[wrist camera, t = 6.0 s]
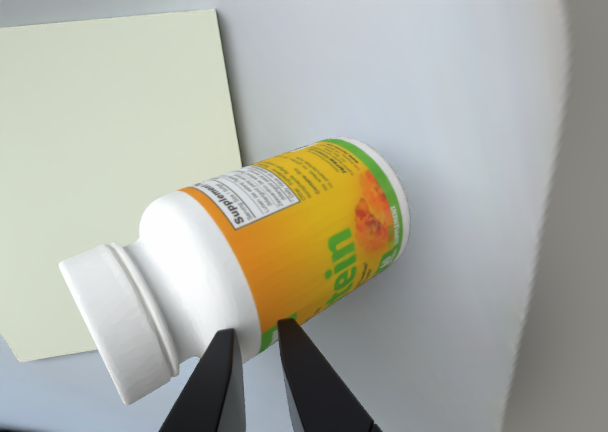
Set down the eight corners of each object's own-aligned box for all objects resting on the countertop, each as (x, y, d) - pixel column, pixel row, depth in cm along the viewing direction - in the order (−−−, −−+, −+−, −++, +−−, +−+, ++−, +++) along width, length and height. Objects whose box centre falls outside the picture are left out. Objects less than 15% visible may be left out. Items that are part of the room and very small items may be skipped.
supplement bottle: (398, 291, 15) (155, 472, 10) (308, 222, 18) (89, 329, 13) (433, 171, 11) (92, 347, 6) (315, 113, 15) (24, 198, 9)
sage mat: (215, 8, 13) (214, 8, 12) (267, 314, 20) (267, 321, 19) (-171, 43, 12) (-187, 44, 11) (24, 354, 19) (19, 362, 18)
